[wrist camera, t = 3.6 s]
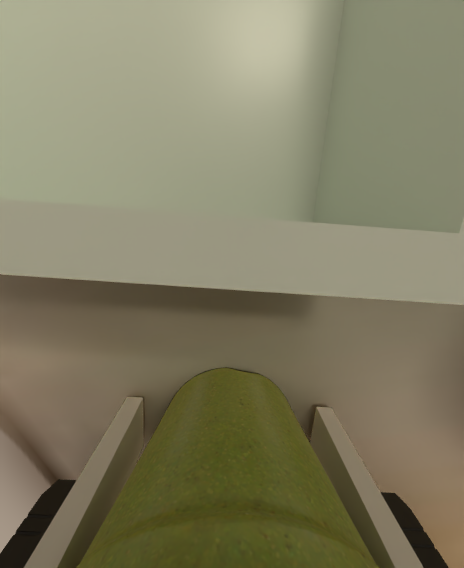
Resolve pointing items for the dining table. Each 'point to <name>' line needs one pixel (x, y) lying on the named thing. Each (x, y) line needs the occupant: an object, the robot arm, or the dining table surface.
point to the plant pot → (228, 489)
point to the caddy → (236, 145)
